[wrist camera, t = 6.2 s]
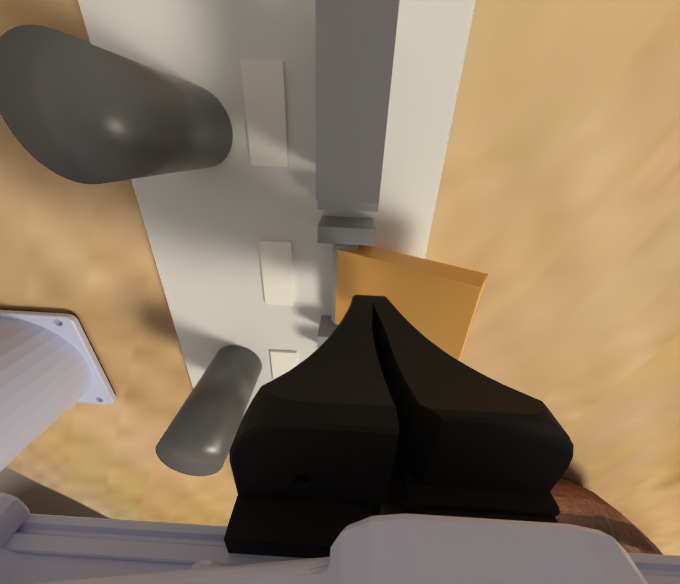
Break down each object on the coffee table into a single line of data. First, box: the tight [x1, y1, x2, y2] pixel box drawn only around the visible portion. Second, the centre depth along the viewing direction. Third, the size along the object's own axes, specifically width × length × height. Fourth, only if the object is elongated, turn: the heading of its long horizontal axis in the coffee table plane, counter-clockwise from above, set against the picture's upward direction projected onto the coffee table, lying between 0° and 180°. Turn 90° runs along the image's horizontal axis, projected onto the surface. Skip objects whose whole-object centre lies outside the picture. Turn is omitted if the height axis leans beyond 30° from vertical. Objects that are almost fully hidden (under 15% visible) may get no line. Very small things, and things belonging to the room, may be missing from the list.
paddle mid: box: [331, 244, 488, 361], centre depth 12 cm, size 1×4×7 cm
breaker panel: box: [0, 0, 476, 476], centre depth 12 cm, size 14×24×7 cm, turn 178°
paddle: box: [316, 0, 400, 204], centre depth 8 cm, size 1×4×7 cm, turn 177°
